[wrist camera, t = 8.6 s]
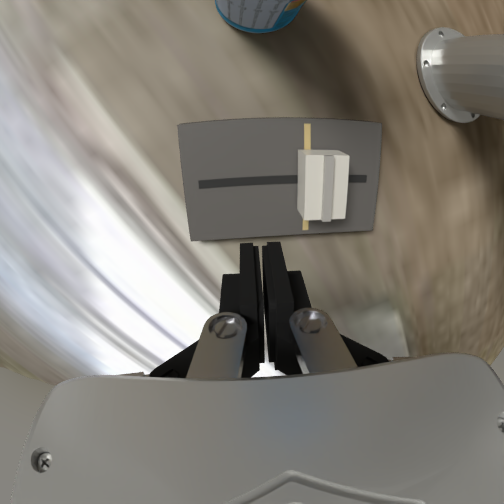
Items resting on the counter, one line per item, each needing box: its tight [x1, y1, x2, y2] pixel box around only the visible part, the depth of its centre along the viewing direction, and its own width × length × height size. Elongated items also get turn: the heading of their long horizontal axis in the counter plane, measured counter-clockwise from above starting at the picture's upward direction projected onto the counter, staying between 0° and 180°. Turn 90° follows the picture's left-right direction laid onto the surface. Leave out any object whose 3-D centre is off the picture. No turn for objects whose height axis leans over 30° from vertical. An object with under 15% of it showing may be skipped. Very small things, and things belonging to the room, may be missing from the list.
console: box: [177, 117, 382, 241], centre depth 28 cm, size 20×12×2 cm, turn 92°
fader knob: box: [297, 150, 349, 222], centre depth 26 cm, size 4×6×4 cm, turn 2°
